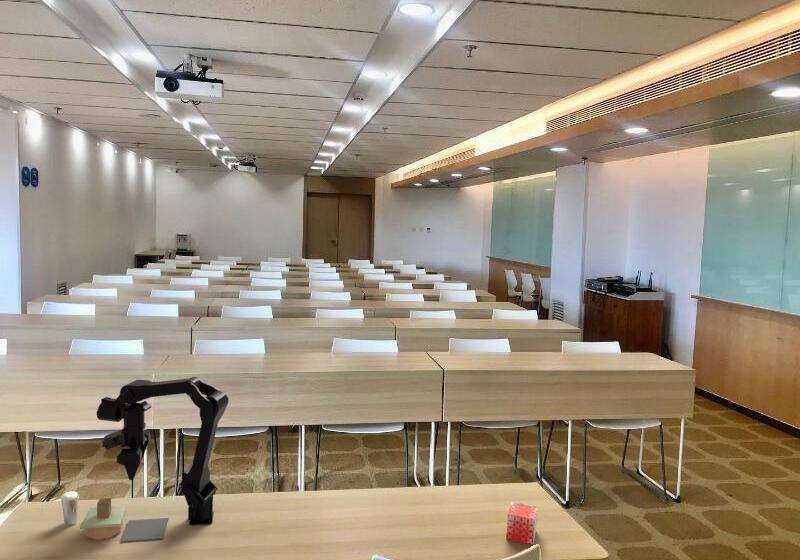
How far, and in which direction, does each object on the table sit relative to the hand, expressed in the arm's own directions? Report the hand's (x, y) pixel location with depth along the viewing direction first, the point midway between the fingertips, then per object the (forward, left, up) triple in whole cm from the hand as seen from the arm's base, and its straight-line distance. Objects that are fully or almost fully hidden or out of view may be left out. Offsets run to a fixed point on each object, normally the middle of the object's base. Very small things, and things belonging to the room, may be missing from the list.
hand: (134, 472), depth 183 cm
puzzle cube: (-113, +30, -12) cm, 118 cm away
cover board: (+6, +11, -8) cm, 15 cm away
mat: (-5, +12, -12) cm, 18 cm away
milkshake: (+16, +5, -12) cm, 21 cm away
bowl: (+6, +11, -12) cm, 17 cm away
